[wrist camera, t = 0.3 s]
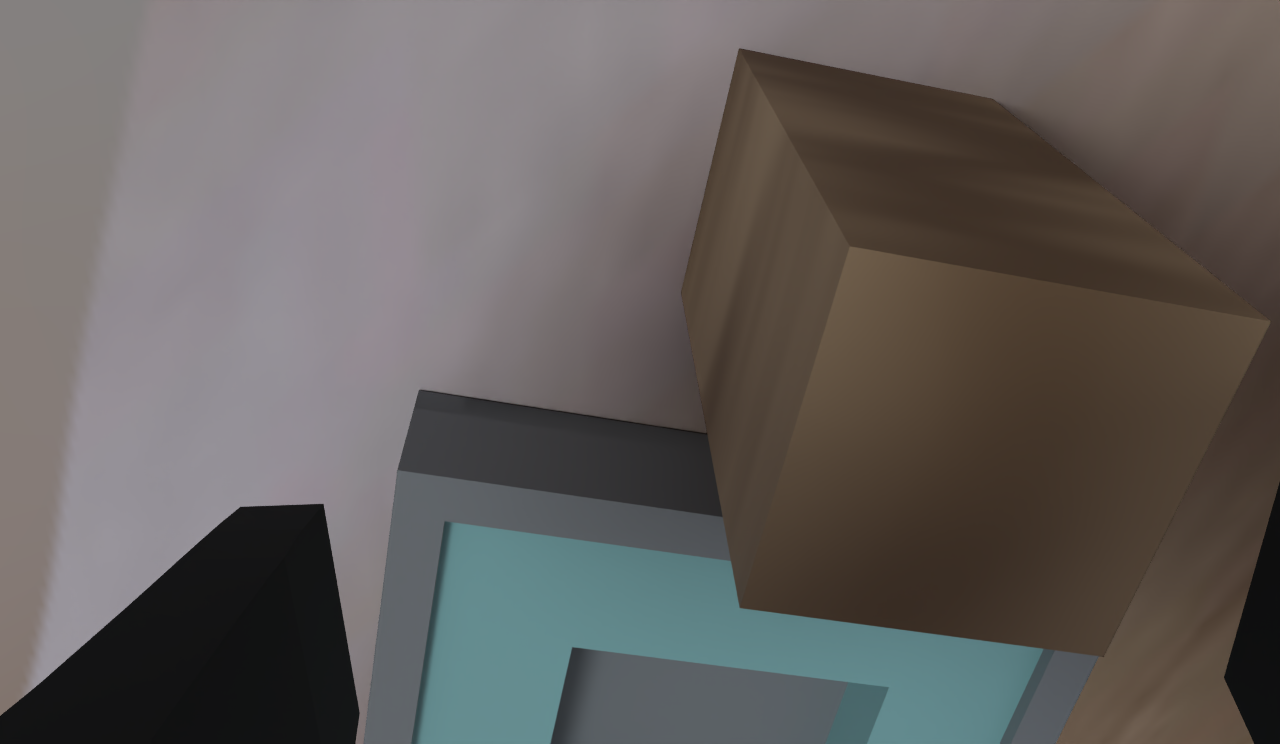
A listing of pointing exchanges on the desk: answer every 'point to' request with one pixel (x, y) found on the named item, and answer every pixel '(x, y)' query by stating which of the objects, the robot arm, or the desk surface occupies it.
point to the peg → (942, 363)
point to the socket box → (640, 610)
